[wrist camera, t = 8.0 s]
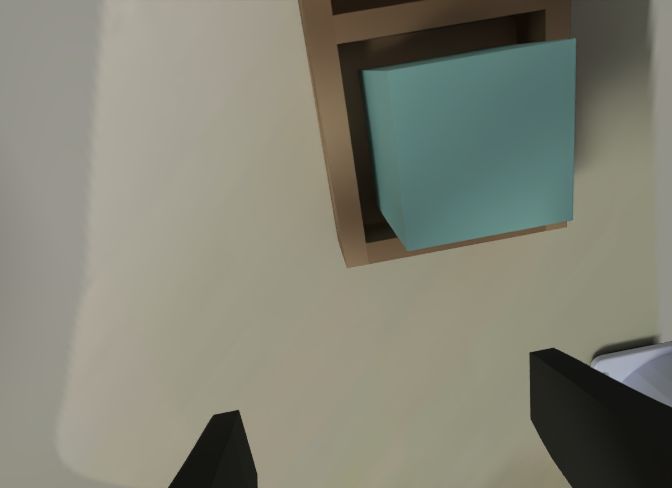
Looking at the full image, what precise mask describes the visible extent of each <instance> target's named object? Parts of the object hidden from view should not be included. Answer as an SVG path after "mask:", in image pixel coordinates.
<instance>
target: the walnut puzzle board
mask: <svg viewBox="0 0 672 488" xmlns="http://www.w3.org/2000/svg"><path fill="white" fill-rule="evenodd" d="M570 1H571V0H298V3H299V9H300V15H301V21H302V26H303V32H304V38H305V44H306V50H307V56H308V62H309V68H310V74H311V80H312V86H313V92H314V98H315V104H316V110H317V116H318V122H319V128H320V134H321V140H322V146H323V152H324V158H325V164H326V170H327V176H328V182H329V188H330V194H331V200H332V206H333V212H334V218H335V224H336V230H337V236H338V241H339V244H340V248H341V251H342V254H343V257H344V260H345V263H346V267H347V268H350V267H356V266H361V265H366V264H372V263H377V262H382V261H388V260H393V259H399V258H404V257H409V256H415V255H420V254H425V253H431V252H436V251H441V250H447V249H452V248H457V247H463V246H468V245H473V244H479V243H484V242H489V241H495V240H500V239H505V238H511V237H516V236H521V235H527V234H532V233H537V232H543V231H548V230H553V229H559V228H564V227H567V221H565V222H560V223H555V224H549V225H544V226H539V227H534V228H528V229H523V230H518V231H512V232H507V233H502V234H497V235H491V236H486V237H481V238H475V239H470V240H465V241H460V242H454V243H449V244H444V245H438V246H433V247H428V248H423V249H417V250H412V251H407V250H406V248H405V247H404V245H403V244H402V242H401V241H400V239H399V238H398V237H397V235H396V234H395V232H394V231H393V229H392V228H391V226H390V225H389V223H388V222H387V220H386V219H385V217H384V216H383V214H382V213H381V211H380V210H379V208H378V207H377V205H376V198H375V191H374V183H373V176H372V168H371V161H370V154H369V146H368V139H367V131H366V124H365V117H364V109H363V102H362V94H361V87H360V80H359V72H358V70H363V69H368V68H374V67H380V66H386V65H392V64H397V63H403V62H409V61H415V60H420V59H426V58H432V57H438V56H444V55H449V54H455V53H461V52H467V51H472V50H478V49H484V48H490V47H495V46H505V45H515V44H524V43H534V42H544V41H554V40H563V39H570Z"/></svg>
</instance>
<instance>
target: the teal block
mask: <svg viewBox="0 0 672 488" xmlns="http://www.w3.org/2000/svg"><path fill="white" fill-rule="evenodd" d="M358 72H359V80H360V87H361V94H362V102H363V109H364V117H365V124H366V131H367V139H368V146H369V154H370V161H371V168H372V176H373V183H374V191H375V198H376V205H377V207H378V208H379V210H380V211H381V213H382V214H383V216H384V217H385V219H386V220H387V222H388V223H389V225H390V226H391V228H392V229H393V231H394V232H395V234H396V235H397V237H398V238H399V239H400V241H401V242H402V244H403V245H404V247H405V248H406V250H407V251H412V250H417V249H423V248H428V247H433V246H438V245H444V244H449V243H454V242H460V241H465V240H470V239H475V238H481V237H486V236H491V235H497V234H502V233H507V232H512V231H518V230H523V229H528V228H534V227H539V226H544V225H549V224H555V223H560V222H565V221H571V220H573V187H574V131H575V74H576V38H573V39H563V40H554V41H544V42H534V43H524V44H515V45H505V46H495V47H490V48H484V49H478V50H472V51H467V52H461V53H455V54H449V55H444V56H438V57H432V58H426V59H420V60H415V61H409V62H403V63H397V64H392V65H386V66H380V67H374V68H368V69H363V70H358Z"/></svg>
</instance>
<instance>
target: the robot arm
mask: <svg viewBox="0 0 672 488" xmlns="http://www.w3.org/2000/svg"><path fill="white" fill-rule="evenodd" d="M530 415H531V421H532V423H533V425H534V426H535V428H536V430H537V432H538V434H539V436H540V438H541V440H542V442H543V443H544V445H545V447H546V449H547V451H548V452H549V454H550V456H551V458H552V459H553V461H554V462H555V463H556V465H557V466H558V468H559V469H560V471H561V472H562V474H563V475H564V476H565V478H566V479H567V481H568V482H569V483H570V485H571V486H572V488H672V341H670V342H666V343H660V344H655V345H650V346H645V347H640V348H635V349H630V350H625V351H620V352H615V353H610V354H605V355H600V356H598V357H596V358H595V359H593V361H592V362H591V366H588V365H587V364H585V363H583V362H581V361H579V360H577V359H575V358H573V357H571V356H569V355H567V354H565V353H563V352H561V351H559V350H557V349H555V348H550V349H545V350H540V351H535V352H530ZM168 488H258V486H257V472H256V468H255V465H254V461H253V457H252V454H251V450H250V447H249V443H248V440H247V436H246V433H245V429H244V426H243V422H242V419H241V415H240V412H239V410H236V411H231V412H226V413H221V414H216V415H213V417H212V418H211V419H210V421H209V423H208V424H207V426H206V428H205V429H204V431H203V433H202V434H201V436H200V438H199V439H198V441H197V443H196V444H195V446H194V448H193V449H192V451H191V453H190V454H189V456H188V458H187V459H186V461H185V462H184V464H183V466H182V467H181V469H180V470H179V472H178V473H177V475H176V476H175V478H174V479H173V481H172V483H171V484H170V486H169V487H168Z"/></svg>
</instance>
